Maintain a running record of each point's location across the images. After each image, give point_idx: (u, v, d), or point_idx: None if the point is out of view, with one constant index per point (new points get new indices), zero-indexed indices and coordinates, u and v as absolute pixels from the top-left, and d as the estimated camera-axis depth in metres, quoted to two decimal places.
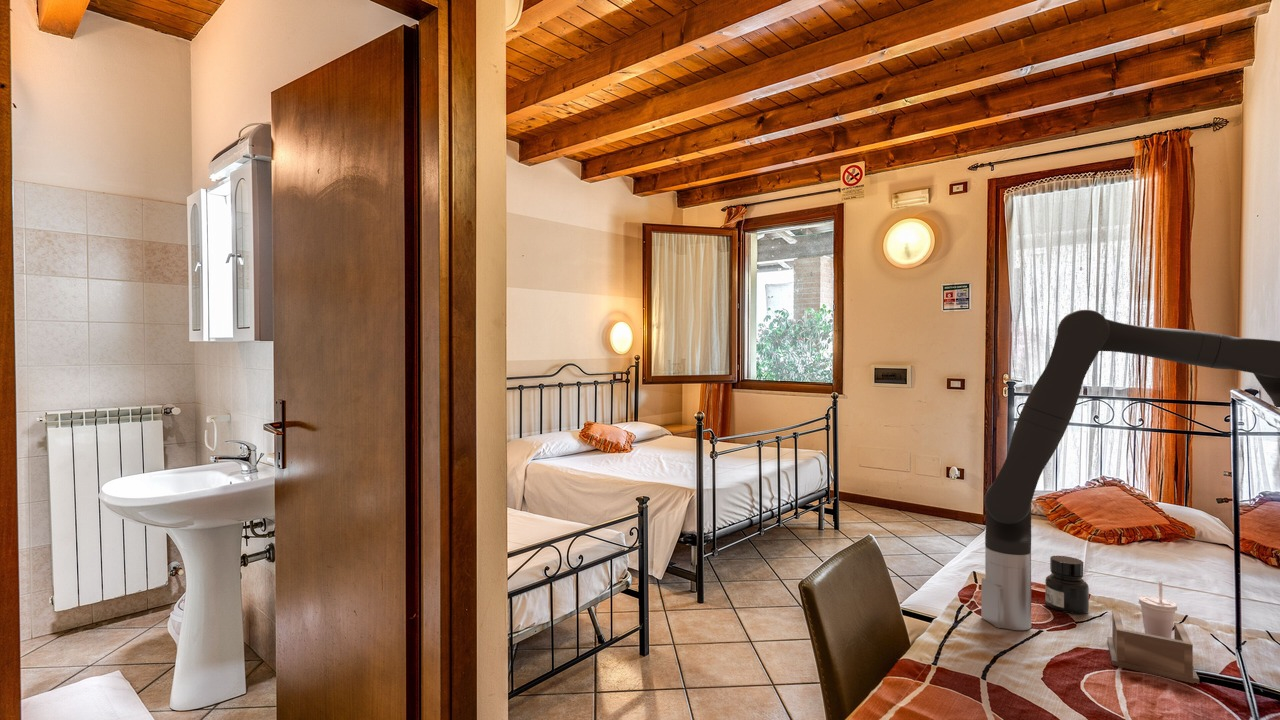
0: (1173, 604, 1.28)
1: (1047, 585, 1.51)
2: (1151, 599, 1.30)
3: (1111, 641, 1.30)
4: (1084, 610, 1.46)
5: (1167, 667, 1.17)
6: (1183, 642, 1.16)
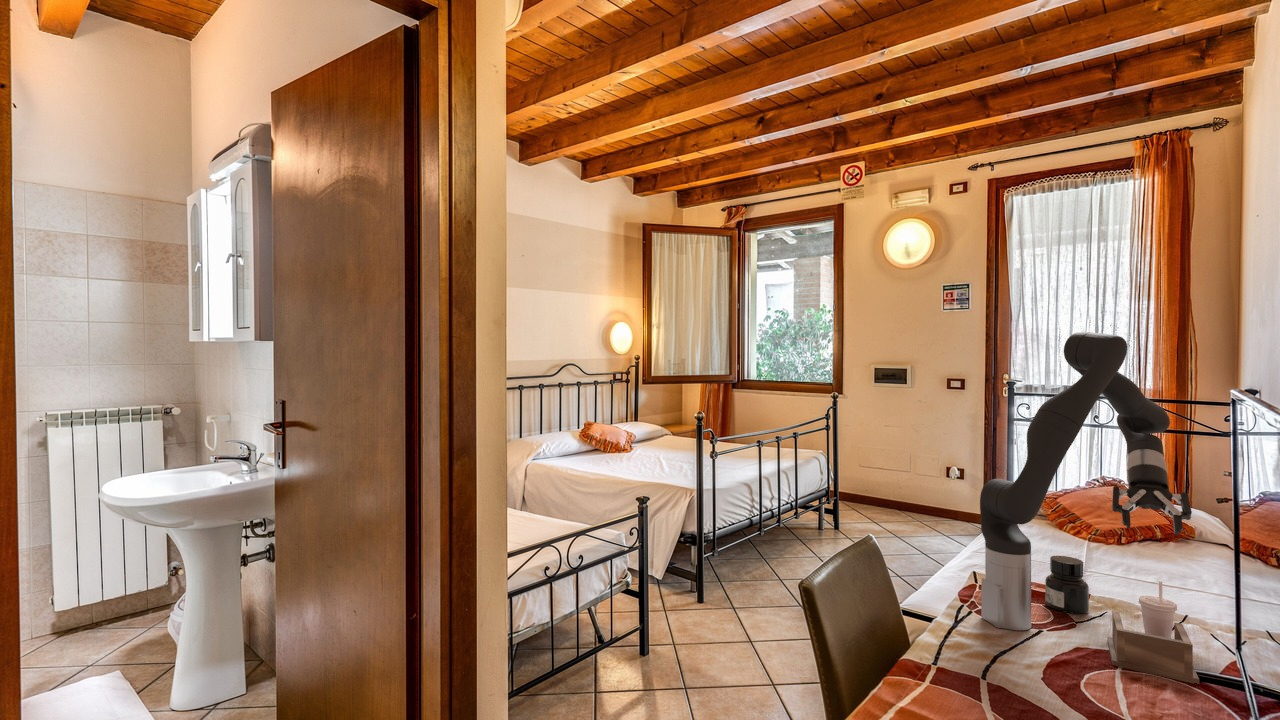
0: (1173, 604, 1.28)
1: (1047, 585, 1.51)
2: (1151, 599, 1.30)
3: (1111, 641, 1.30)
4: (1084, 610, 1.46)
5: (1167, 667, 1.17)
6: (1183, 642, 1.16)
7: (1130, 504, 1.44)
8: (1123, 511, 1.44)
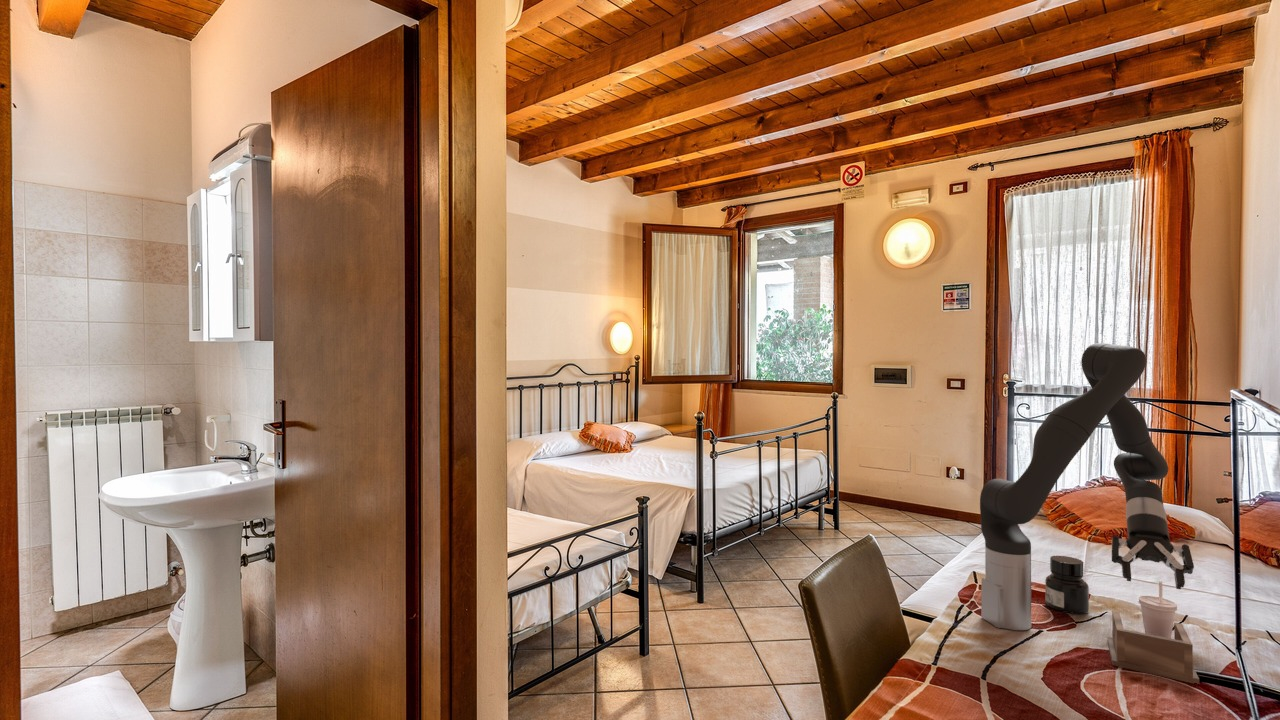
0: (1173, 604, 1.28)
1: (1047, 585, 1.51)
2: (1151, 599, 1.30)
3: (1111, 641, 1.30)
4: (1084, 610, 1.46)
5: (1167, 667, 1.17)
6: (1183, 642, 1.16)
7: (1130, 556, 1.39)
8: (1123, 563, 1.39)
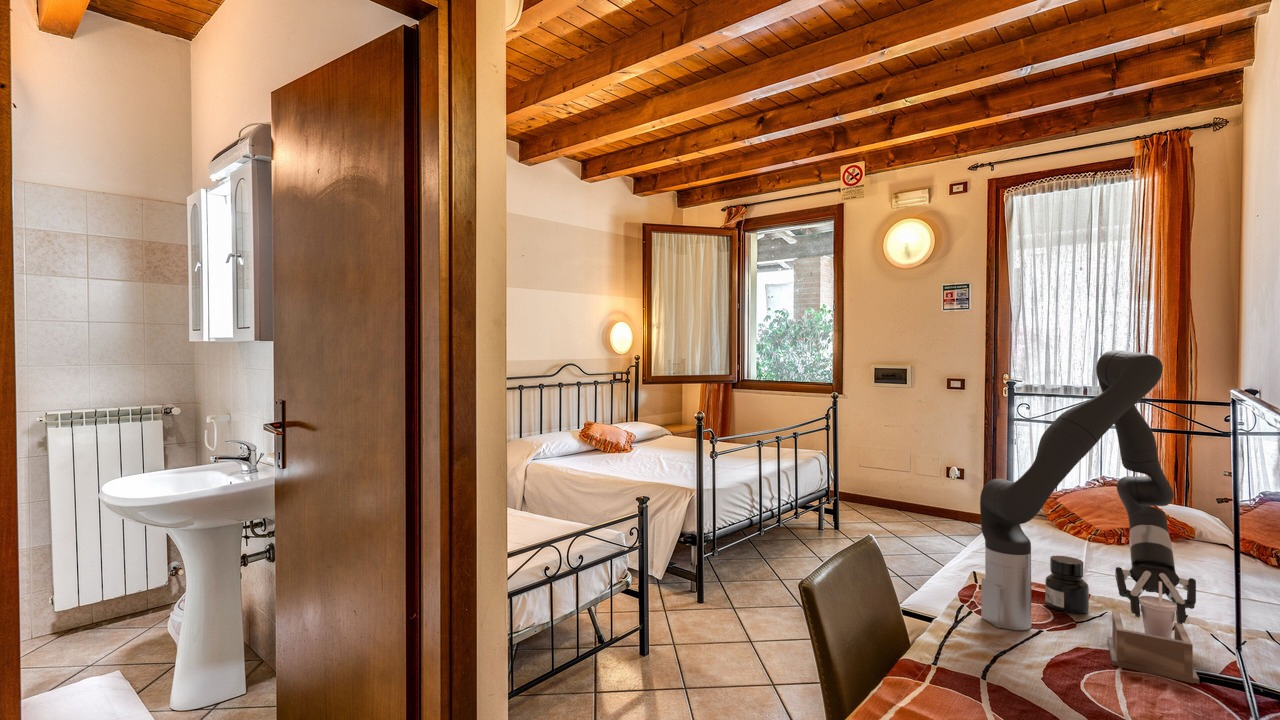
0: (1173, 604, 1.28)
1: (1047, 585, 1.51)
2: (1151, 599, 1.30)
3: (1111, 641, 1.30)
4: (1084, 610, 1.46)
5: (1167, 667, 1.17)
6: (1183, 642, 1.16)
7: (1138, 589, 1.33)
8: (1132, 597, 1.32)
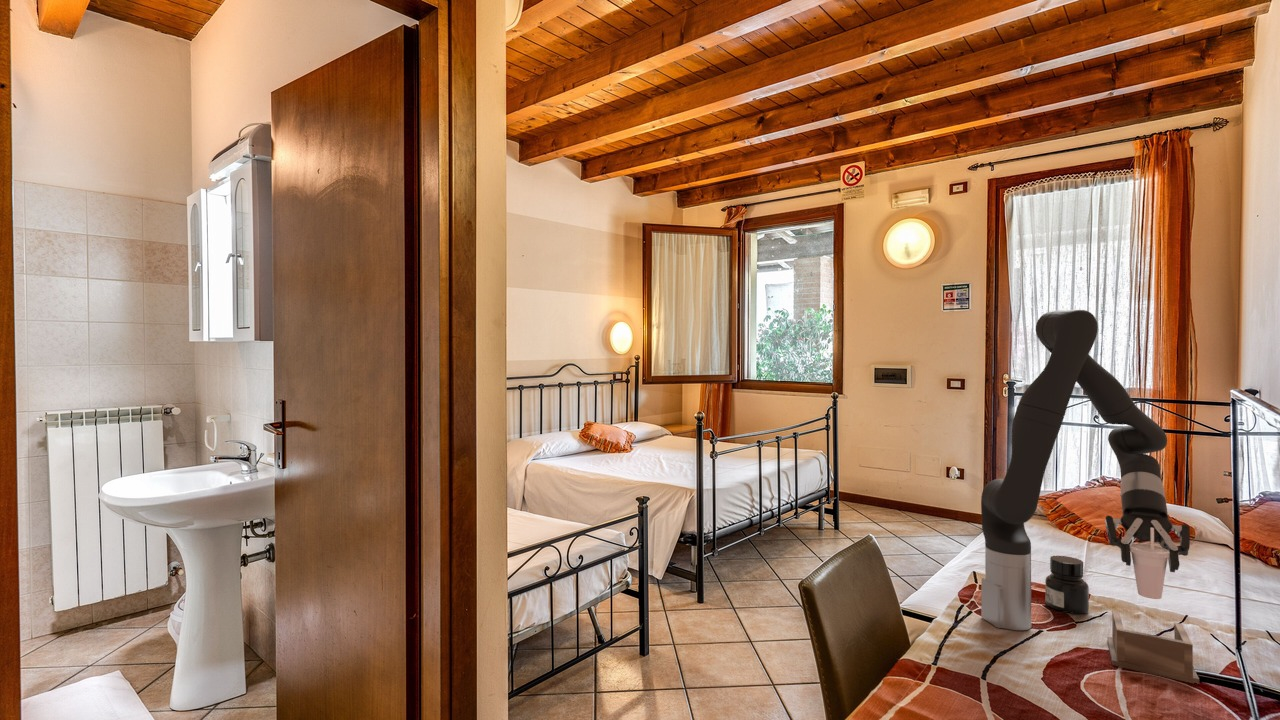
0: (1165, 551, 1.22)
1: (1047, 585, 1.51)
2: (1142, 546, 1.24)
3: (1111, 641, 1.30)
4: (1084, 610, 1.46)
5: (1167, 667, 1.17)
6: (1183, 642, 1.16)
7: (1129, 537, 1.26)
8: (1122, 546, 1.26)
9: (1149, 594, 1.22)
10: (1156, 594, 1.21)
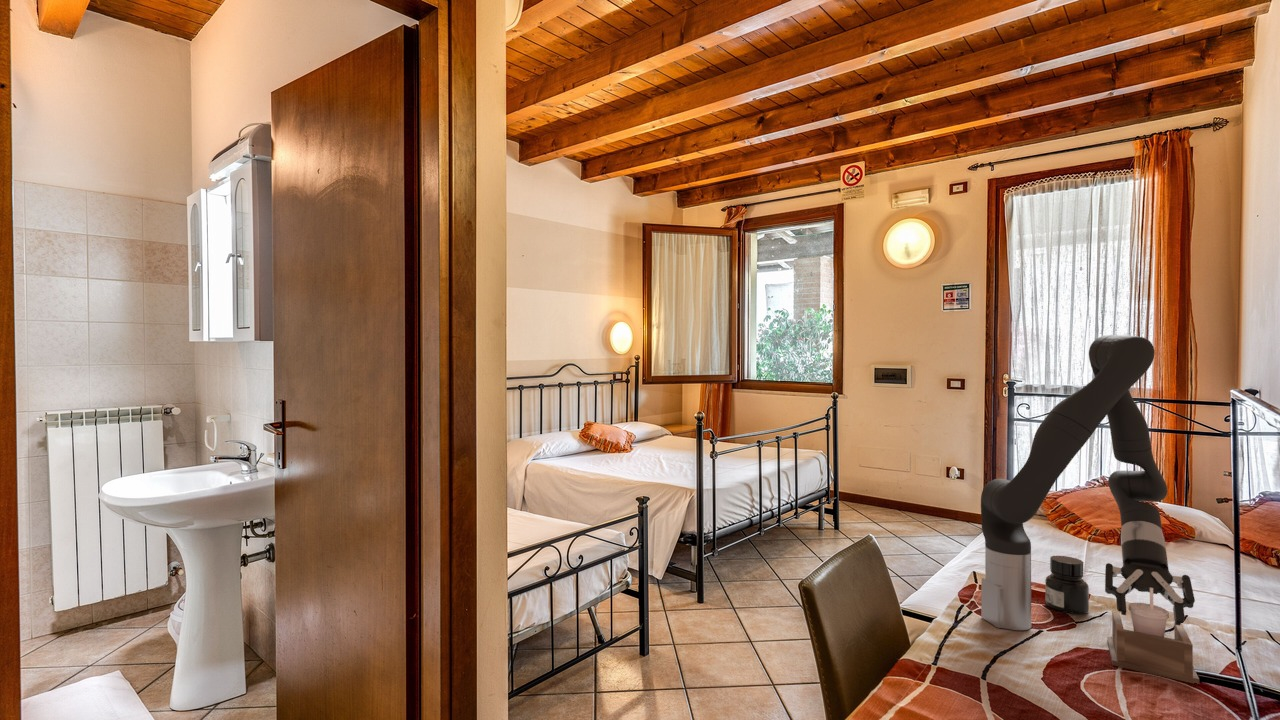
0: (1165, 611, 1.22)
1: (1047, 585, 1.51)
2: (1142, 606, 1.24)
3: (1111, 641, 1.30)
4: (1084, 610, 1.46)
5: (1167, 667, 1.17)
6: (1183, 642, 1.16)
7: (1125, 586, 1.26)
8: (1118, 594, 1.26)
9: None
10: None
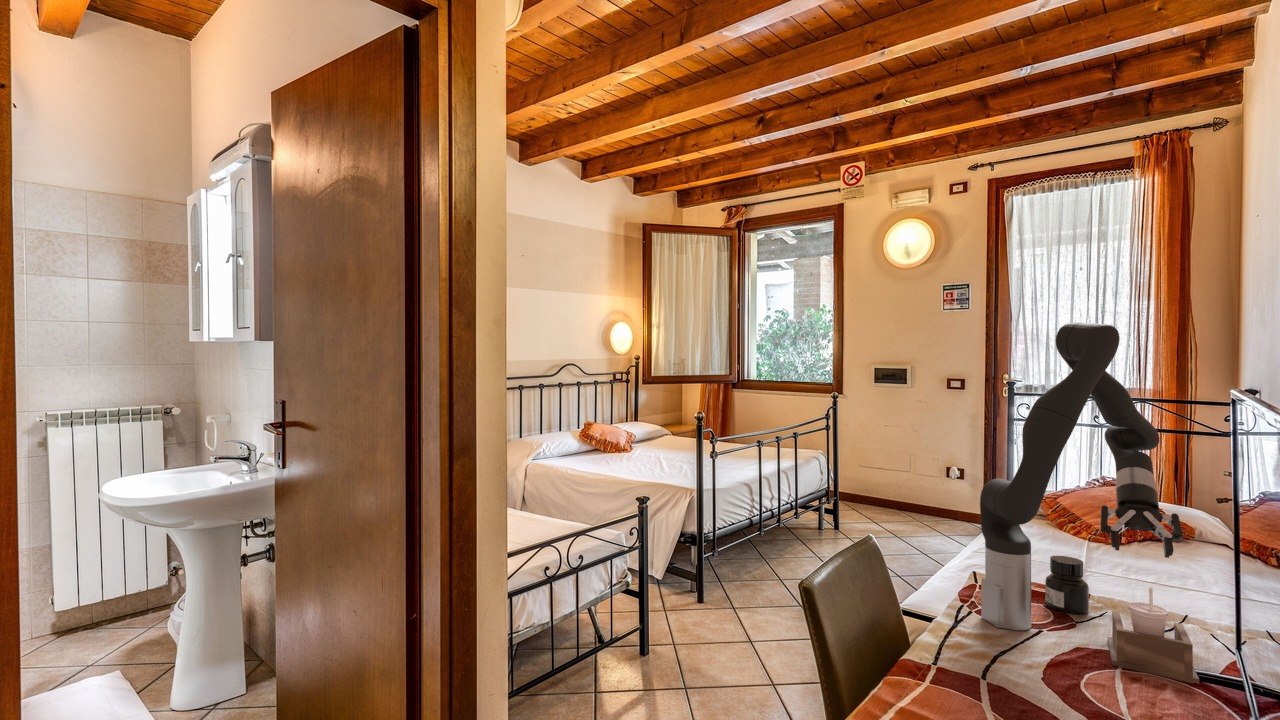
0: (1164, 611, 1.22)
1: (1047, 585, 1.51)
2: (1141, 606, 1.24)
3: (1111, 641, 1.30)
4: (1084, 610, 1.46)
5: (1167, 667, 1.17)
6: (1183, 642, 1.16)
7: (1119, 525, 1.37)
8: (1112, 532, 1.37)
9: None
10: None
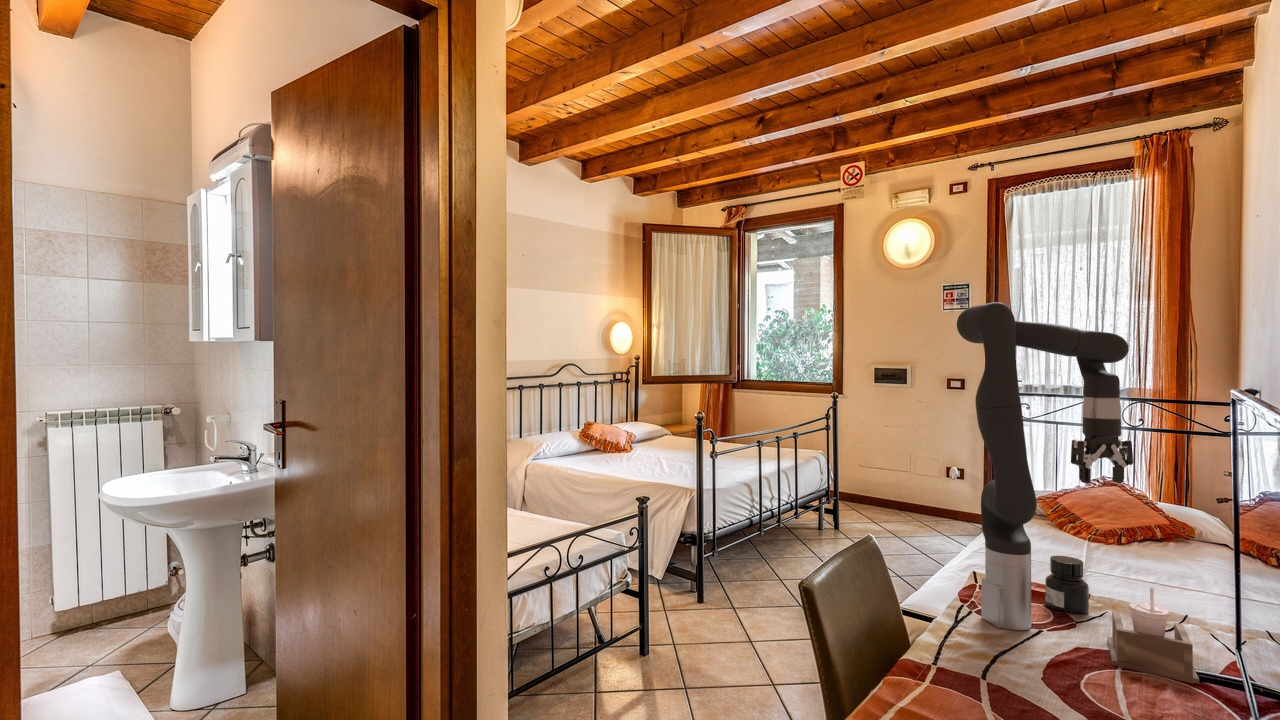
0: (1165, 611, 1.22)
1: (1047, 585, 1.51)
2: (1142, 606, 1.24)
3: (1111, 641, 1.30)
4: (1084, 610, 1.46)
5: (1167, 667, 1.17)
6: (1183, 642, 1.16)
7: (1091, 461, 1.45)
8: (1084, 468, 1.45)
9: None
10: None
